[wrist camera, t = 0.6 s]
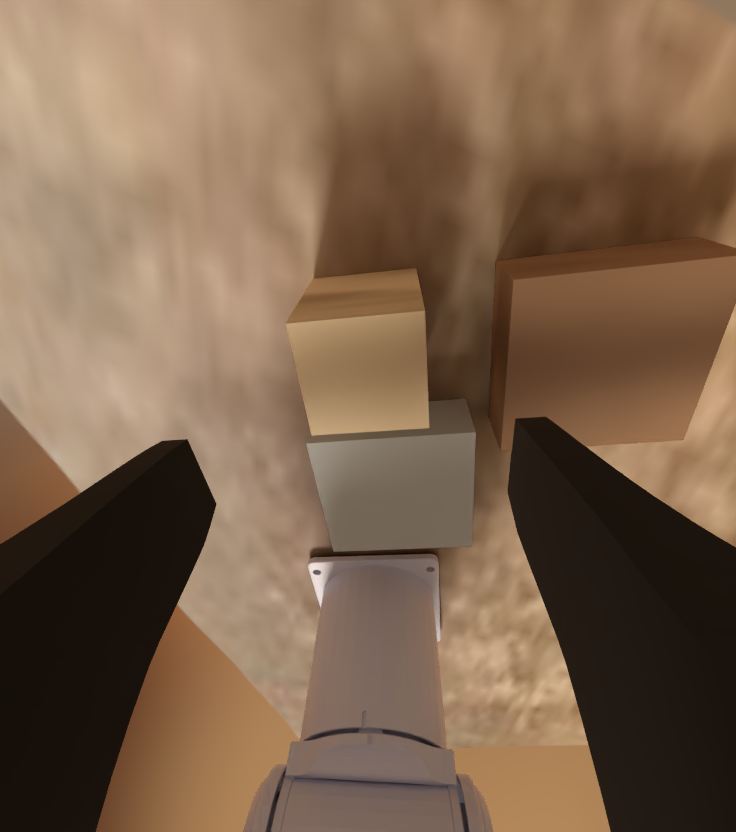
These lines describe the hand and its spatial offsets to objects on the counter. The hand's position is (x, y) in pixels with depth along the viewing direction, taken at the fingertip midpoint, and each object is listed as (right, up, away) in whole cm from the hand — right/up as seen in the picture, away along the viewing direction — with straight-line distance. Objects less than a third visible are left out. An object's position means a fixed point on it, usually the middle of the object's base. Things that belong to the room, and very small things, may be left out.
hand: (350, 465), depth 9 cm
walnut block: (+9, +4, +8) cm, 13 cm away
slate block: (+2, -1, +12) cm, 12 cm away
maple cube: (0, +5, +8) cm, 9 cm away
